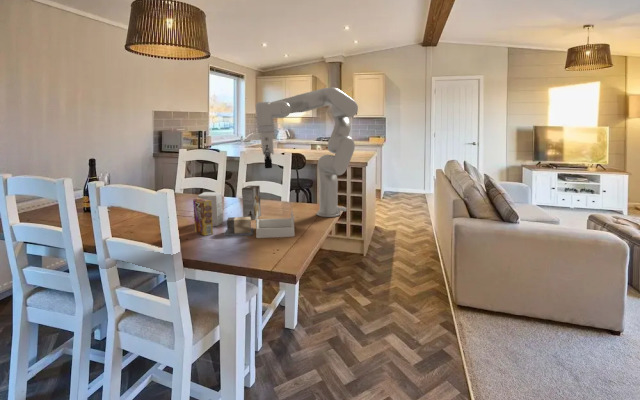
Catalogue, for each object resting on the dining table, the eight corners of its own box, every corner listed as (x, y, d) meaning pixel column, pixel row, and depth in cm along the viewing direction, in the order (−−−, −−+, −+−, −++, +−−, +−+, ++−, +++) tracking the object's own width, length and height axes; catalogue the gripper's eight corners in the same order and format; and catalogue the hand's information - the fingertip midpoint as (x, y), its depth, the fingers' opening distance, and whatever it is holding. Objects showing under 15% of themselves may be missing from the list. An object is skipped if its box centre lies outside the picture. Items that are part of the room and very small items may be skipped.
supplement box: (199, 226, 183) (197, 195, 180) (205, 221, 192) (203, 191, 188) (218, 226, 182) (216, 195, 179) (223, 221, 191) (222, 191, 188)
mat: (253, 228, 178) (253, 227, 178) (252, 235, 168) (252, 234, 168) (226, 229, 176) (226, 228, 176) (224, 236, 167) (224, 235, 167)
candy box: (213, 234, 170) (211, 200, 167) (205, 236, 167) (202, 201, 164) (203, 230, 176) (201, 197, 173) (194, 232, 173) (192, 199, 170)
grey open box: (292, 226, 182) (291, 209, 180) (294, 236, 166) (294, 218, 164) (257, 227, 180) (257, 211, 178) (256, 237, 164) (255, 219, 162)
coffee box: (249, 214, 204) (248, 185, 201) (261, 215, 203) (260, 185, 199) (242, 219, 195) (241, 188, 192) (254, 219, 194) (253, 188, 191)
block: (251, 229, 175) (250, 216, 174) (250, 232, 170) (250, 219, 169) (228, 230, 174) (228, 217, 173) (227, 233, 169) (226, 220, 168)
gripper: (274, 130, 169) (277, 168, 172) (273, 128, 185) (276, 163, 189) (257, 131, 168) (260, 169, 172) (257, 129, 184) (260, 164, 188)
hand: (268, 166), depth 180 cm, fingers open, 9 cm apart
